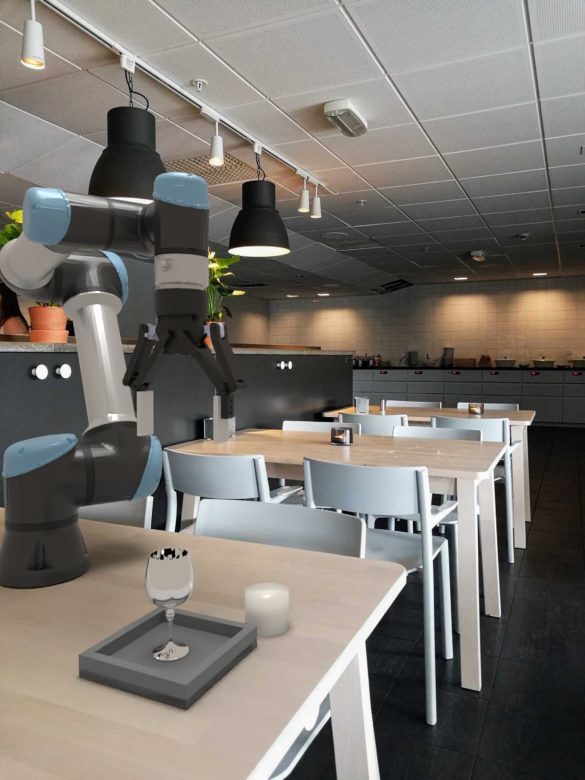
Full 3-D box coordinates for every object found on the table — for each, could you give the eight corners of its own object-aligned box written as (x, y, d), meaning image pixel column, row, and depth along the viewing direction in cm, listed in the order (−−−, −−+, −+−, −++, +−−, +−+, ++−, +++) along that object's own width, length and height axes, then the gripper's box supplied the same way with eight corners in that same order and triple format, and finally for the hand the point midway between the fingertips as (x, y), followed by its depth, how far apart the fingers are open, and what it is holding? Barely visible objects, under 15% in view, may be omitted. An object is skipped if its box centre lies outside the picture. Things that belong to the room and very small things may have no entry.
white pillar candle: (236, 631, 78) (236, 595, 77) (258, 614, 83) (258, 579, 83) (276, 640, 75) (276, 602, 75) (296, 622, 80) (296, 586, 80)
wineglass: (141, 647, 71) (139, 550, 71) (186, 636, 74) (185, 543, 73) (152, 668, 66) (150, 564, 66) (201, 656, 69) (199, 557, 68)
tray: (79, 676, 66) (78, 654, 66) (162, 623, 80) (161, 605, 80) (186, 709, 60) (186, 685, 60) (257, 646, 73) (256, 626, 73)
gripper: (96, 289, 84) (98, 435, 85) (242, 282, 72) (241, 449, 74) (133, 294, 91) (134, 429, 92) (271, 288, 79) (270, 442, 80)
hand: (181, 438), depth 83 cm, fingers open, 13 cm apart
